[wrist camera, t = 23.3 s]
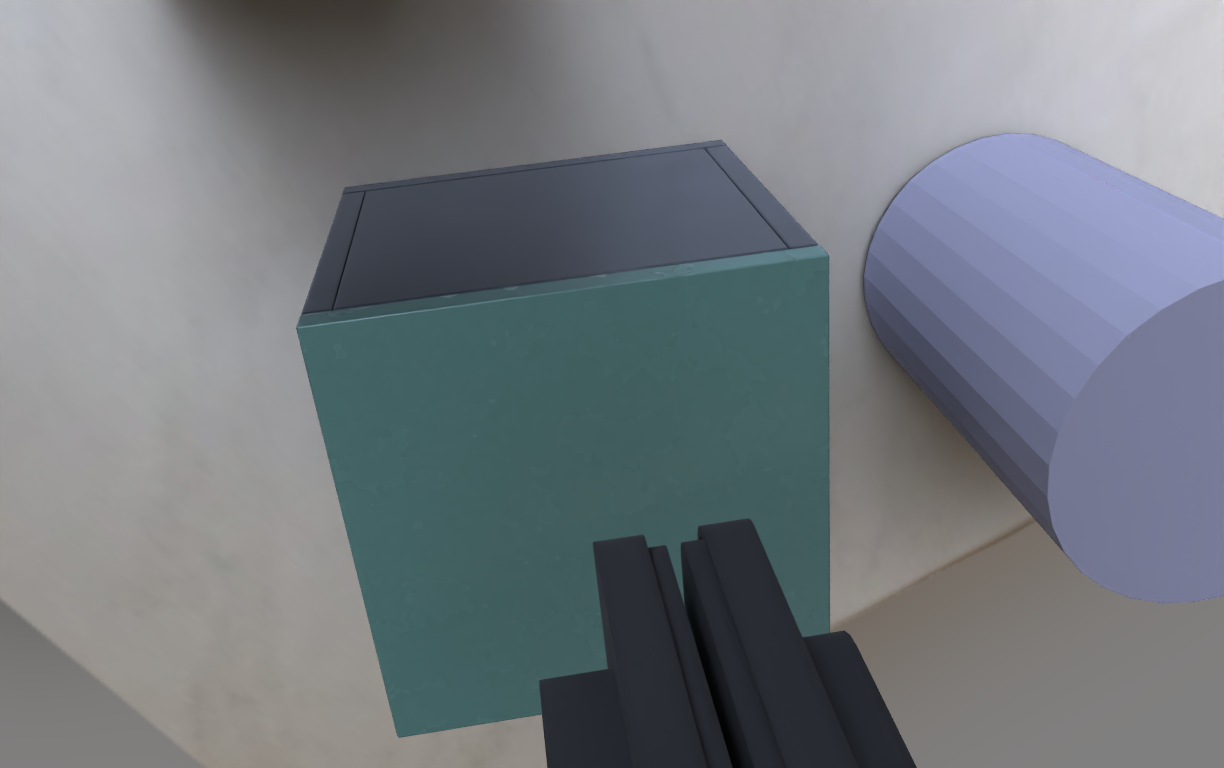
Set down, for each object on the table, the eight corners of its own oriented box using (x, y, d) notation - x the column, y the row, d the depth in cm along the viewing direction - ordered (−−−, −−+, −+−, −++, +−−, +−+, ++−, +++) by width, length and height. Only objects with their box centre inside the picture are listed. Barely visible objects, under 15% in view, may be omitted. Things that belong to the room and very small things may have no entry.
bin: (736, 449, 45) (822, 631, 34) (409, 497, 44) (394, 700, 33) (722, 139, 39) (819, 244, 28) (343, 187, 38) (299, 314, 27)
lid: (822, 651, 35) (830, 667, 34) (398, 720, 34) (397, 738, 33) (820, 244, 28) (829, 254, 28) (299, 314, 27) (295, 327, 27)
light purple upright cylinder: (967, 424, 46) (1177, 659, 32) (807, 276, 42) (971, 473, 28) (1162, 248, 43) (1478, 423, 30) (1011, 72, 39) (1298, 183, 26)
